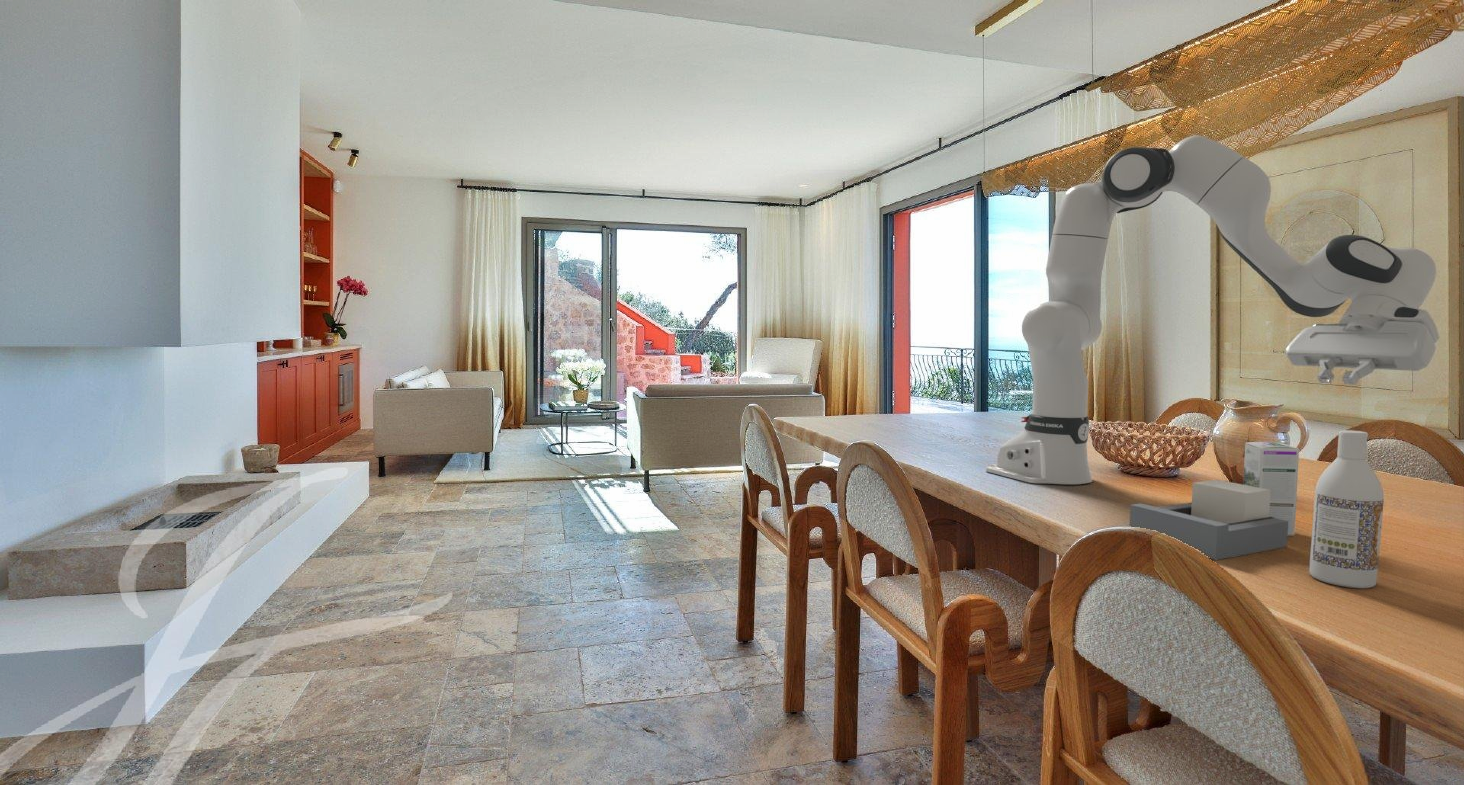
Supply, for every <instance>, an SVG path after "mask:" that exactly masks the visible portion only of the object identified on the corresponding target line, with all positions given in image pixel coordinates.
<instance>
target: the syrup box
mask: <svg viewBox="0 0 1464 785" xmlns="http://www.w3.org/2000/svg"><path fill="white" fill-rule="evenodd" d="M1244 444H1245V446H1244V463H1243V464H1244V466H1243V480H1242V481H1243V482H1242V485H1248V486H1253V487H1258V488H1263V489H1269V490H1271V494H1270V509H1269V517H1274V518H1276V519H1280V520H1285V521H1288V534H1287V537H1291V536H1292V537H1294V536H1295V533H1296V514H1297V496H1298V495H1297V494H1298V478H1299V477H1298V475H1299V456H1300V455H1299V454H1300V449H1299V447H1296V446H1292V445H1288V444H1285V443H1282V442H1273V441H1272V442H1271V441H1252V442H1251V441H1250V442H1249V441H1248V442H1247V441H1246V442H1245V443H1244Z"/></svg>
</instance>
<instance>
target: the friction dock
mask: <svg viewBox="0 0 1464 785" xmlns="http://www.w3.org/2000/svg"><path fill="white" fill-rule="evenodd" d="M1191 506H1192V501H1191V502H1186V503H1178V504H1170V505H1163V506H1154V505H1150V504H1145V503H1142V502H1141V503H1134V504H1130V510H1129V526H1131V527H1140V528H1146V529H1150V530H1156V531H1158V532H1160V533H1165V534H1166V535H1168V536H1171V537H1174V538H1176V539H1178V540H1180V541H1182V542H1183V543H1186V544H1188V545H1189V546H1192V547H1194V548H1195V549H1198V550H1199V551H1201V553H1204V555H1206V556H1208V557H1210V558H1211V560H1213V561H1218V560H1224V559H1229V558H1234V557H1239V556H1245V555H1250V554H1251V555H1252V554H1255V553H1260V552H1265V551H1272V550H1276V549H1277V550H1278V549H1282V548H1287V543H1288V536H1287V534H1288V521H1285V520H1280V519H1276V518H1274V517H1266V518H1260V519H1254V520H1248V521H1241V522H1235V523H1229V524H1225V523H1221V522H1217V521H1212V520H1208V519H1204V518H1200V517H1196V516H1192V515H1191ZM1210 558H1209V559H1210Z"/></svg>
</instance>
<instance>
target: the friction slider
mask: <svg viewBox="0 0 1464 785" xmlns="http://www.w3.org/2000/svg"><path fill="white" fill-rule="evenodd" d="M1270 494H1271V490H1269V489H1263V488H1258V487H1253V486H1248V485H1243V483H1236V482H1231V481H1226V480H1220V479H1212V480H1211V479H1210V480H1202V481H1196V482H1192V492H1191V502H1192V506H1191V515H1192V516H1196V517H1200V518H1204V519H1208V520H1212V521H1217V522H1221V523H1225V524H1229V523H1235V522H1241V521H1248V520H1254V519H1260V518H1266V517H1269V509H1270Z"/></svg>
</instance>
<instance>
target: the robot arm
mask: <svg viewBox="0 0 1464 785" xmlns="http://www.w3.org/2000/svg"><path fill="white" fill-rule="evenodd" d="M1271 189H1272V186H1271V180H1270V178H1269V176H1268V175H1267V173H1266V172H1265V171H1264V170H1263V169H1262V168H1261V167H1260V166H1258V165H1257V163H1254V162H1253V161H1251V160H1249V159H1248V158H1247V157H1245V156H1244V155H1242V154H1241V153H1239V152H1238V151H1236V150H1233V149H1232V148H1230V147H1228V146H1226V145H1225V144H1222V143H1220V142H1219V141H1216V140H1213V139H1211V138H1209V137H1207V136H1203V135H1200V134H1199V135H1198V134H1196V135H1191V136H1188V137H1185V138H1183V139H1182V140H1180V141H1178V142H1177V143H1176V144H1174V146H1173V147H1171V149H1170V150H1168V149H1166V148H1162V147H1160V148H1157V147H1147V146H1132V147H1127V148H1124V149H1122V150H1120V151H1118V152H1116V153H1114V154H1113V155H1112V156H1111V157H1110V158H1109V159H1108V161H1107V162H1106V163H1105V164H1104V168H1103V171H1102V174H1101V179H1100V180H1099V181H1097V182H1094V183H1091V182H1090V183H1088V182H1087V183H1080V184H1076V185H1074V186H1072V187H1070V188H1069V189H1068V190H1067V191H1066V192H1064V194H1063V197H1062V199H1061V203H1060V205H1059V208H1058V210H1057V214H1056V216H1055V220H1054V224H1053V229H1052V232H1051V233H1052V234H1051V239H1050V244H1049V251H1048V256H1047V261H1046V268H1045V275H1046V277H1047V283H1048V284H1047V285H1048V301H1046V302H1043V303H1040V304H1038V305H1037V306H1034V307H1033V308H1032V309H1030V310H1029V311H1028V312H1027V313H1026V314H1025V316H1024V318H1023V320H1022V324H1021V333H1022V336H1023V339H1024V340H1025V342H1026V344H1027V347H1028V354H1029V361H1030V366H1031V372H1032V413H1030V414H1029V415H1026V416H1022V417H1020V419H1023V420H1021V421H1020V423H1025V425H1024V429H1023V430H1021V432H1019V433H1018V434H1016V435H1015V436H1013V437H1011V438H1010V439H1009V440H1007V441H1006V442H1004V443H1003V444H1001V446H1000V447H999V449H998V453H997V458H996V459H997V460H996V463H993V464H989V465H988V466H986V467H985V471H986V472H988V473H991V474H996V475H1000V476H1002V477H1007V478H1011V479H1015V480H1018V481H1021V482H1026V483H1031V484H1053V485H1082V484H1083V485H1084V484H1089V483H1092V482H1093V478H1092V474H1091V471H1090V466H1089V458H1088V447H1087V446H1088V444H1087V442H1088V439H1089V431H1090V430H1089V426H1090V423H1089V422H1090V417H1089V416H1088V399H1089V398H1088V396H1089V378H1088V376H1087V374H1086V370H1085V365H1084V360H1083V358H1084V357H1083V350H1085V349H1088V347H1090V346H1092V345H1093V344H1094V343H1095V342H1096V341H1097V340H1098V339H1099V338H1100V335H1101V333H1102V330H1103V328H1102V327H1103V326H1102V325H1103V324H1102V321H1101V301H1102V300H1101V298H1102V297H1101V295H1102V290H1101V289H1102V288H1101V286H1102V276H1103V271H1104V270H1103V269H1104V263H1105V259H1106V253H1107V248H1108V247H1107V246H1108V242H1109V237H1110V231H1111V227H1112V226H1111V225H1112V224H1113V220H1114V217H1115V216H1116V214H1121V213H1124V212H1129V211H1130V212H1131V211H1134V210H1135V211H1136V210H1139V209H1143V208H1146V207H1148V206H1150V205H1152V204H1153V203H1155V202H1156V201H1157V200H1158V199H1160V197H1161V196H1162V195H1163V193H1165V192H1173V193H1177V194H1180V195H1182V196H1183V197H1185V198H1186V199H1188V200H1190V201H1191V202H1192V203H1194V205H1196V206H1198V207H1199V208H1201V209H1202V210H1203V211H1204V212H1205V213H1206V214H1207V215H1208V217H1210V218H1211V220H1213V222H1214V223H1215V224H1216V226H1217V228H1218V229H1219V234H1220V236H1221V238H1222V239H1223V241H1224V242H1225V243H1226V244H1227V245H1228V246H1229V248H1231V249H1232V250H1233V251H1234V252H1235V253H1236V254H1237V255H1238V256H1239V257H1240V258H1241V259H1242V260H1243V261H1244V262H1246V263H1247V265H1248V266H1250V267H1251V268H1252V269H1253V270H1254V271H1255V272H1256V273H1257V274H1258V275H1259V276H1260V277H1261V278H1263V279H1264V280H1265V281H1266V282H1267V283H1268V284H1269V285H1270V286H1271V287H1272V289H1274V291H1275V292H1276V294H1277V295H1278V296H1279V298H1280V299H1281V301H1282V302H1283V303H1284V305H1286V307H1287V308H1288V309H1289V310H1291V311H1293V312H1294V313H1296V314H1298V315H1301V316H1305V317H1308V318H1322V317H1326V316H1329V315H1331V314H1333V313H1334V312H1336V311H1337V309H1338V308H1340V307H1341V306H1342V305H1343V304H1344V303H1345V302H1346V301H1347V300H1348V299H1350V301H1351V303H1350V305H1349V307H1347V309H1346V310H1345V312H1344V313H1343V315H1342V317H1341V318H1340V320H1339V321H1338V323H1328V324H1327V323H1326V324H1325V323H1315V324H1314V325H1312V326H1308V327H1305V328H1303V329H1302V330H1301V331H1300V332H1299V333H1298V334H1297V335H1296V336H1295V337H1294V338H1293V339H1292V340H1291V342H1290V343H1289V344H1288V345H1287V346H1286V348H1285V355H1286V357H1287V359H1288V360H1289V362H1290V364H1292V365H1293V366H1296V367H1298V366H1300V367H1318V368H1319V367H1320V371H1319V373H1318V374H1317V380H1318V382H1319V383H1321V384H1331V383H1332V381H1334V379H1335V375H1334V373H1333V372H1332V370H1334V368H1342V369H1343V368H1345V369H1352V370H1346V371H1345V372H1344V374H1343V375H1342V378H1341V379H1342V382H1343V384H1344V385H1352V386H1356V385H1357V383H1358V382H1359V380H1360V379H1362V378H1365V377H1366V376H1368V375H1370V374H1371V373H1373V372H1374V370H1387V371H1388V370H1390V371H1409V372H1410V371H1411V372H1412V371H1413V372H1415V371H1416V372H1419V371H1420V370H1423V369H1425V368H1427V367H1428V366H1429V365H1430V363H1431V361H1432V359H1433V357H1434V355H1435V353H1436V350H1437V348H1436V343H1437V342H1438V340H1439V339H1440V335H1439V330H1438V328H1437V325H1436V324H1435V323H1436V322H1434V321H1435V320H1434V319H1433V318H1432V315H1431V314H1430V313H1429V311H1428V310H1426V309H1422V308H1420V307H1421V306H1422V305H1423V304H1424V302H1425V300H1426V299H1427V297H1428V295H1429V293H1430V292H1431V290H1432V287H1433V285H1434V284H1435V281H1436V280H1435V279H1436V277H1437V267H1436V263H1435V261H1434V259H1433V258H1432V256H1430V255H1429V254H1428V253H1426V252H1424V251H1423V250H1420V249H1417V248H1413V247H1409V246H1408V247H1398V248H1397V247H1390V246H1389V247H1388V246H1385V245H1383V244H1381V243H1379V242H1377V241H1375V240H1373V239H1371V238H1369V237H1367V236H1362V235H1359V234H1343V235H1339V236H1337V237H1334V238H1333V239H1331V240H1330V241H1329V242H1328V243H1327V244H1325V245H1324V246H1323V247H1322V248H1321V249H1320V250H1318V251H1317V252H1316V253H1315V254H1314V255H1313V256H1312V257H1310V258H1309V259H1308V260H1307V261H1306V262H1305V263H1302V262H1299V261H1297V260H1296V259H1295V258H1294V257H1293V256H1292V255H1291V254H1290V253H1289V252H1288V251H1286V249H1284V247H1282V246H1281V245H1280V244H1279V243H1278V242H1276V240H1275V239H1273V238H1272V237H1271V235H1270V234H1269V232H1268V231H1267V228H1266V227H1267V226H1266V222H1265V221H1266V214H1267V213H1266V212H1267V209H1268V205H1269V202H1270V199H1271V194H1272V193H1271V191H1272V190H1271Z"/></svg>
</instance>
